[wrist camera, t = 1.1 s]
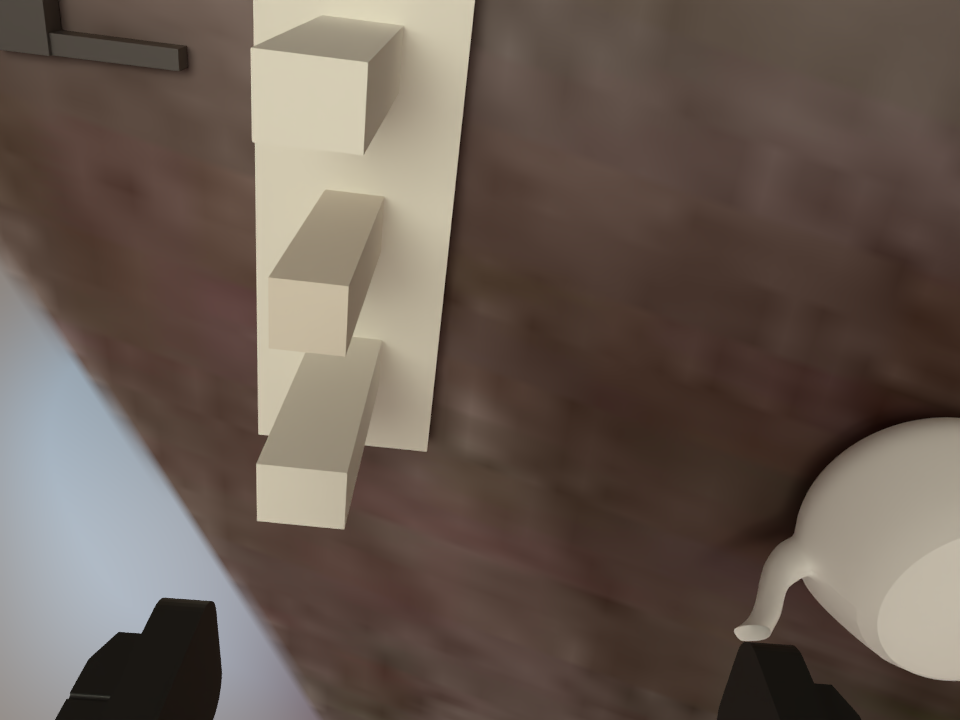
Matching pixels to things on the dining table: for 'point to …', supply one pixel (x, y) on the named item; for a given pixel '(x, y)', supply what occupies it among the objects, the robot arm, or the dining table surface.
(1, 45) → the spectacle frame
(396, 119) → the display stand
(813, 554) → the teapot
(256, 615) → the dining table surface
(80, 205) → the dining table surface
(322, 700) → the dining table surface
